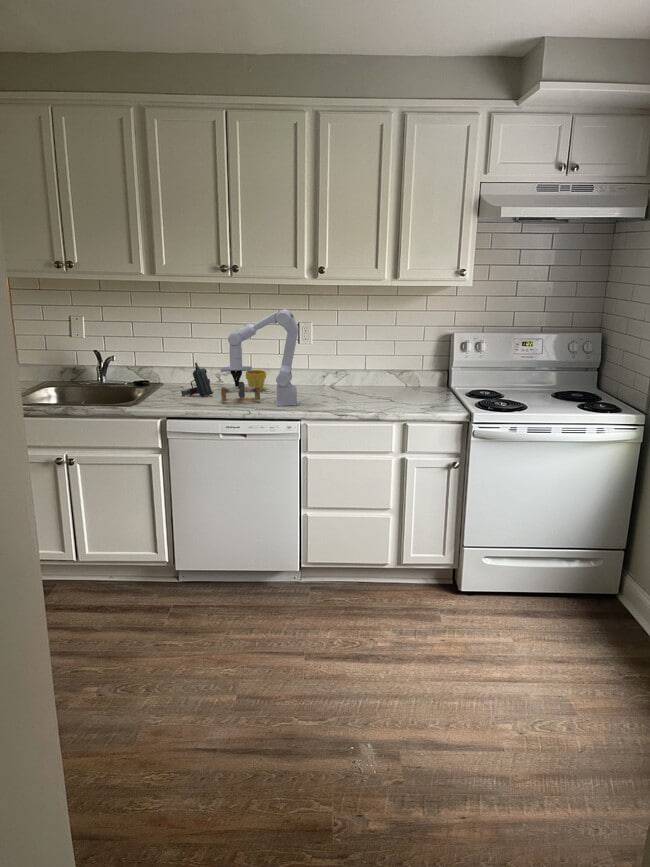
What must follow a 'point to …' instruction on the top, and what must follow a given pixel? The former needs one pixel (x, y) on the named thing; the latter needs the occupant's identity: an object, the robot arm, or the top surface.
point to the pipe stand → (240, 400)
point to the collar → (241, 389)
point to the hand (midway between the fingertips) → (236, 386)
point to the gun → (199, 383)
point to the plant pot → (256, 378)
